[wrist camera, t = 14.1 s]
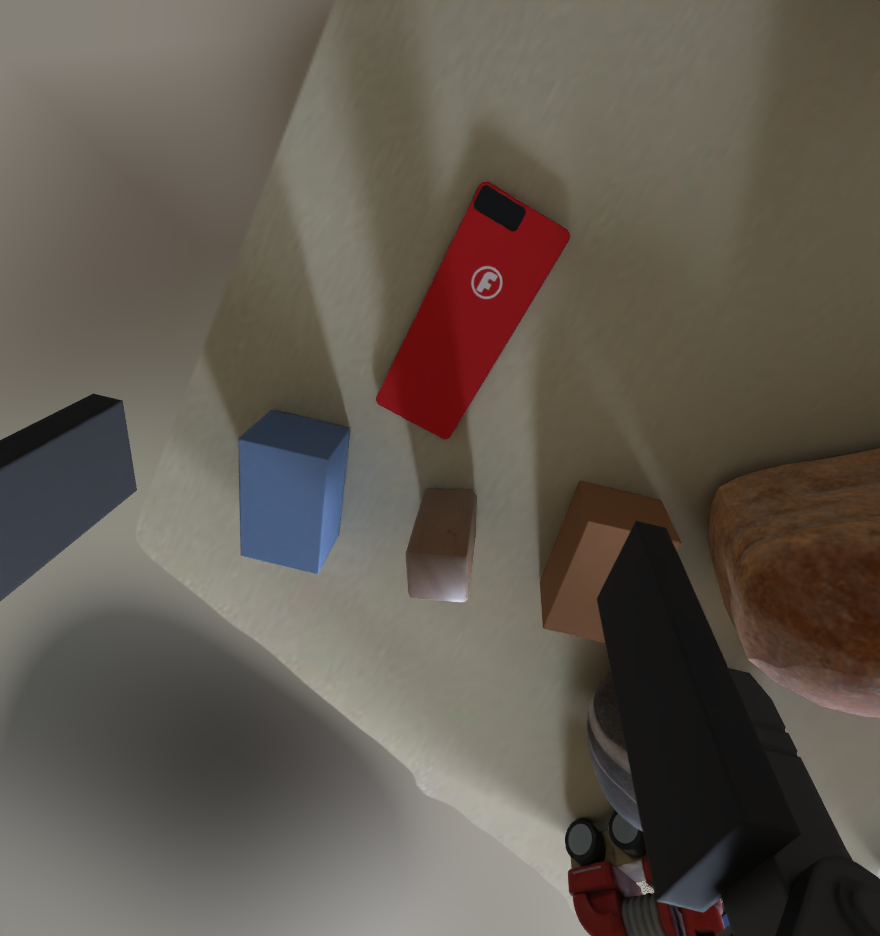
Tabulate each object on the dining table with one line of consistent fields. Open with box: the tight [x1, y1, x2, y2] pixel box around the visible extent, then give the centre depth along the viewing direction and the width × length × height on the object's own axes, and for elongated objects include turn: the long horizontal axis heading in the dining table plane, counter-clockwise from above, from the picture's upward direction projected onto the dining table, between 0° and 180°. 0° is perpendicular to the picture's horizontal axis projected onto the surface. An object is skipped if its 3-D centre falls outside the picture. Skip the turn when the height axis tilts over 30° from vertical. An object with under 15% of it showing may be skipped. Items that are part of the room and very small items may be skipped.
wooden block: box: [406, 489, 477, 602], centre depth 35 cm, size 4×4×8 cm
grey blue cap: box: [587, 673, 642, 831], centre depth 41 cm, size 19×14×10 cm
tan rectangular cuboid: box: [540, 481, 681, 643], centre depth 36 cm, size 6×10×5 cm, turn 169°
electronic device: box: [376, 181, 570, 439], centre depth 31 cm, size 6×1×15 cm
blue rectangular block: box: [238, 410, 350, 574], centre depth 36 cm, size 6×10×5 cm, turn 169°
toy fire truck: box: [565, 811, 725, 936], centre depth 48 cm, size 11×16×18 cm
